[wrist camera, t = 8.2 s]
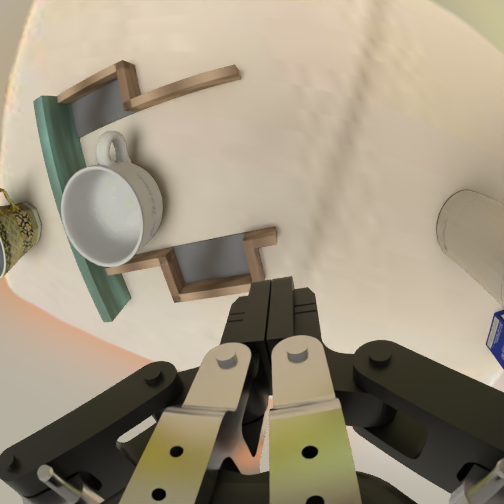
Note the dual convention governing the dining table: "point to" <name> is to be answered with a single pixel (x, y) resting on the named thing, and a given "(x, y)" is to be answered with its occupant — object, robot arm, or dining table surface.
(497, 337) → the milk carton
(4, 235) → the ceramic cup
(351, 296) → the dining table surface
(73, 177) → the teacup
